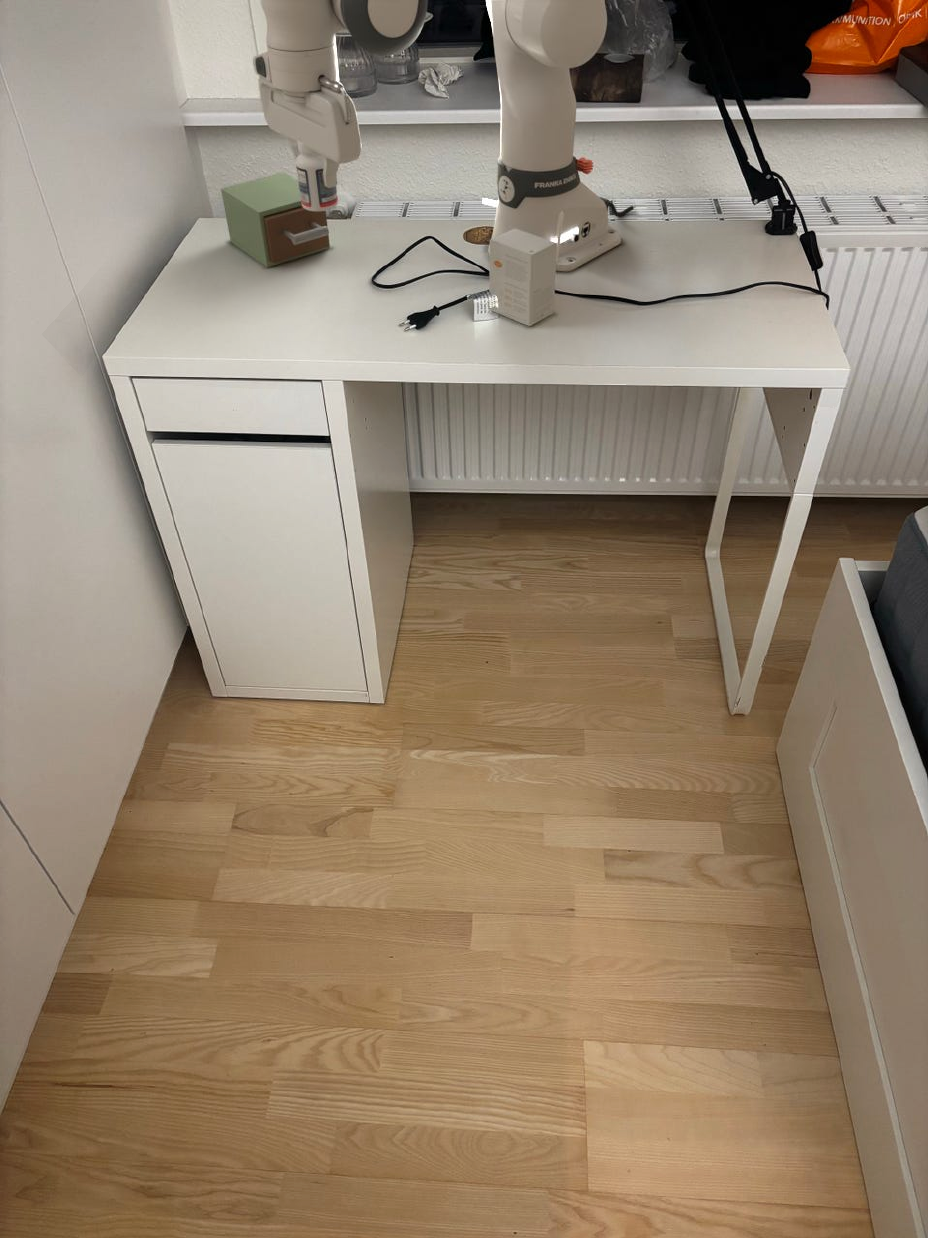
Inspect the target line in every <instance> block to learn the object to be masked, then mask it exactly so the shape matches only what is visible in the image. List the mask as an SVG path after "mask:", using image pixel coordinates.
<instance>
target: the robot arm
mask: <svg viewBox="0 0 928 1238" xmlns="http://www.w3.org/2000/svg"><path fill="white" fill-rule="evenodd" d="M605 1H606V0H485V2H486V3H485V4H486V8H487V12H488V16H489V19H490V22H491V29H492V37H493V49H494V58H495V64H496V72H497V73H496V74H497V79H498V88H499V97H500V98H499V99H500V145H499V146H500V152H499V153H500V155H499V156H498V158H497V163H496V186H497V187H496V188H497V195H498V196H497V200H494V199H490V198H485V197H483V198H482V204H483V205H488V206H491V207H496V210H495V216H494V223H493V229H492V234H491V237H490V238H491V239H493V238H495V237H497V236H499V235H501V234H504V233H506V232H508V231H510V230H513V229H518V230H521V231H524V232H527V233H530V234H533V235H536V236H539V237H541V238H544V239H547V240H550V241H553V242H556V243H557V252H556V271H560V272H571V271H574V270H575V269H577V268H579V267H581V266H582V265H585V264H586V263H588V262H590V261H591V260H594V259H595V258H597V257H599V256H601V255H603V254H604V253H606V252H608V251H610V250H611V249H613V248H615V247H617V246H618V245H620V244H621V243H622V236H621V235H620V233H619V232H618V231H617V230H616V229H614V228H613V227H612V226H610V225H609V208H610V209H611V213H612V214H613V215H614V216H615V217H618V218H620V217H623V216H625V215H627V214H629V213H630V212H632V211H633V210H635V206H633V205H631V206H628V207H627V208H625V209H623V210H622V211H617V208H616V206H615V204H614V203H612V202H611V201H610V200H609V199H608V198H604V197H601V196H599V195H597V194H596V193H595V192H594V191H593V190H592V189H590V187H588V186H587V185H586V184H584V182H582V181H581V178H580V174H579V172H582V173H583V174H585V175H589V174H591V173H592V171H593V169H594V162H593V160H591V159H588V158H585V157H580V158H579V159H578V158H577V157H576V156H574V149H575V148H574V147H575V136H576V135H575V134H576V119H577V118H576V117H577V99H576V95H575V91H574V89H573V85H572V79H571V72H570V69H575V68H577V67H580V66H583V65H584V64H586V63H588V62H589V61H590V60H591V59H592V58H593V57H594V56H595V55H596V53H597V52H598V51H599V50H600V47H601V46H602V44H603V42H604V39H605V36H606V32H607V26H608V15H607V14H608V13H607V9H606V8H607V7H606V2H605ZM428 5H429V0H260V6H261V9H262V10H263V13H264V17H265V21H266V36H265V43H266V49H267V51H265V52H262V53H260V54H256V55H253V56H252V57H253V58H252V63H253V64H252V66H253V70H254V73H255V74H256V75H257V76H259V77H258V91H259V96H260V102H261V107H262V112H263V116H264V119H265V122H266V124H267V126H268V128H269V129H270V130H272V131H273V132H276V133H278V134H279V135H282V136H284V137H285V138H287V139H288V146H289V148H290V151H291V153H292V155H293V158H294V159H295V160H296V159H297V157H298V156H299V155H300V154H301V153H300V152H299V149H298V142H297V140H299V141H301V142H303V143H305V145H306V147H307V148H309V149H311V150H313V151H315V152H317V153H319V154H321V158H322V162H324V169H323V172H320V177H321V183H322V185H324V186H326V187H328V188H331V187H335V186H336V187H337V186H338V175H337V174H338V170H339V167H340V165H343V164H347V163H351V162H355V161H357V160H359V159H360V157H361V154H362V149H363V148H362V141H361V131H360V128H359V127H360V125H359V122H358V115H357V111H356V106H355V104H354V101H353V100H352V98H351V97H350V95H349V94H347V92H346V90H345V87H344V84H342V83H341V82H340V74H339V63H338V52H337V42H336V35H337V33H338V32H340V31H348V32H349V34H350V36H351V37H352V39H353V40H354V41H355V43H356V44H357V45H358V46H359V47H360V48H361V49H362V50H364V51H366V52H368V53H370V54H372V55H375V56H380V57H389V56H393V55H397V54H400V53H402V52H404V51H405V50H407V49H408V48H409V47H411V46H412V45H413V44H414V42H415V41H416V40H417V39H418V37H419V35H420V34H421V31H422V29H423V28H424V25H425V23H426V17H427V12H428ZM491 239H490V240H491ZM489 248H490V245H489V246H488V248H487V252H488V253H489V252H490V250H489Z"/></svg>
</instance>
